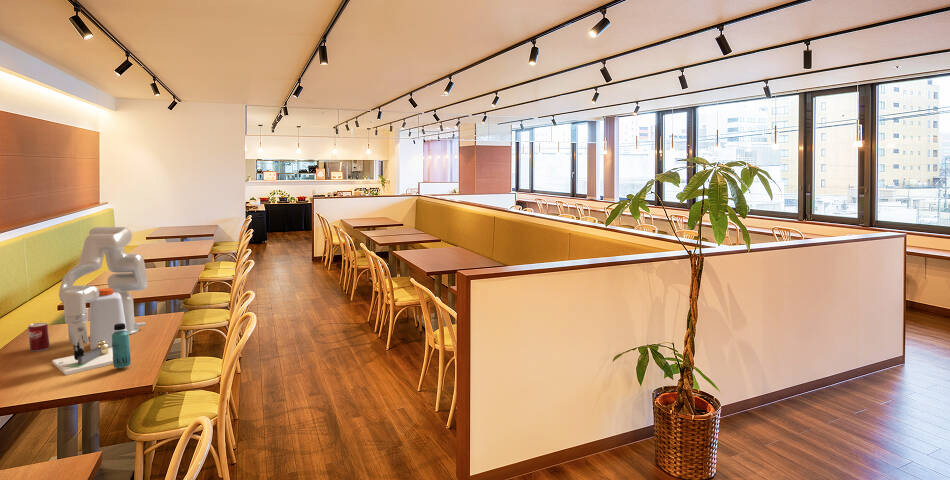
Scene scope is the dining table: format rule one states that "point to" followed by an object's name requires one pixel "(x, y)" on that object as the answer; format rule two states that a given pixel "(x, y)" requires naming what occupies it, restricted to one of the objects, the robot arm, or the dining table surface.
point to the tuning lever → (94, 352)
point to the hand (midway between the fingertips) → (79, 358)
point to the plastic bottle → (105, 316)
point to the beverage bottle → (121, 347)
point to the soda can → (38, 336)
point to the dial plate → (71, 365)
